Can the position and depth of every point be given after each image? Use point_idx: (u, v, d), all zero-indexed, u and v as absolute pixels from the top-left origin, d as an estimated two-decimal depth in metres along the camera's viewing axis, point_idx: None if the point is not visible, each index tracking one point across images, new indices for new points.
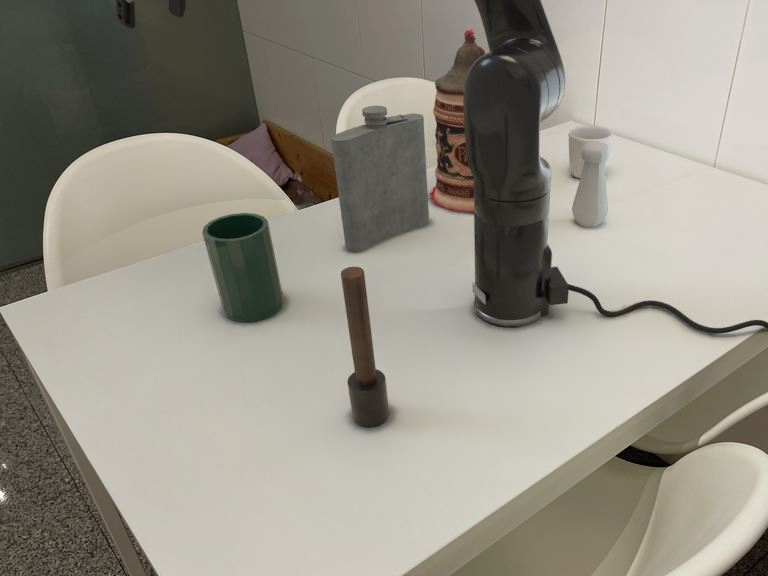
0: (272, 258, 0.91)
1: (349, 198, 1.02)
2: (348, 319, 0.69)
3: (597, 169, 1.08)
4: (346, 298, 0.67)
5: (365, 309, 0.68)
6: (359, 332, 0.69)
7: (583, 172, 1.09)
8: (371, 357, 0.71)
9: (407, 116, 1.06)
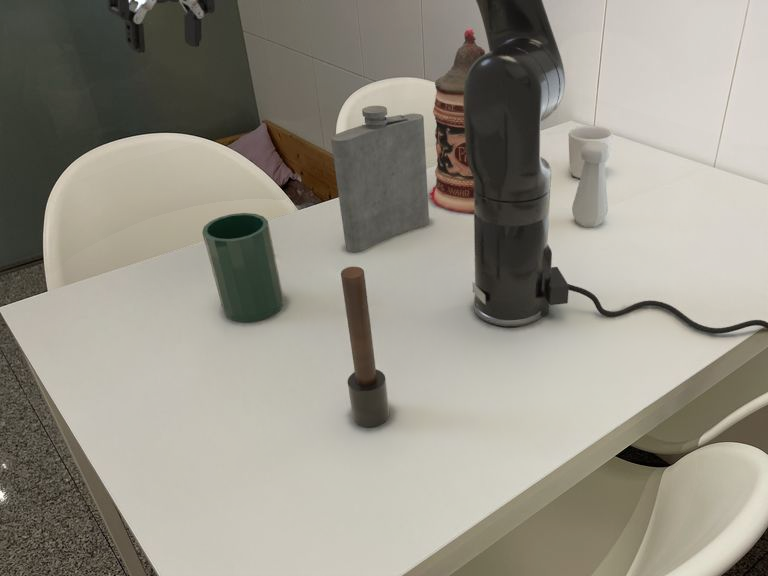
0: (272, 258, 0.91)
1: (349, 198, 1.02)
2: (348, 319, 0.69)
3: (597, 169, 1.08)
4: (346, 298, 0.67)
5: (365, 309, 0.68)
6: (359, 332, 0.69)
7: (583, 172, 1.09)
8: (371, 357, 0.71)
9: (407, 116, 1.06)
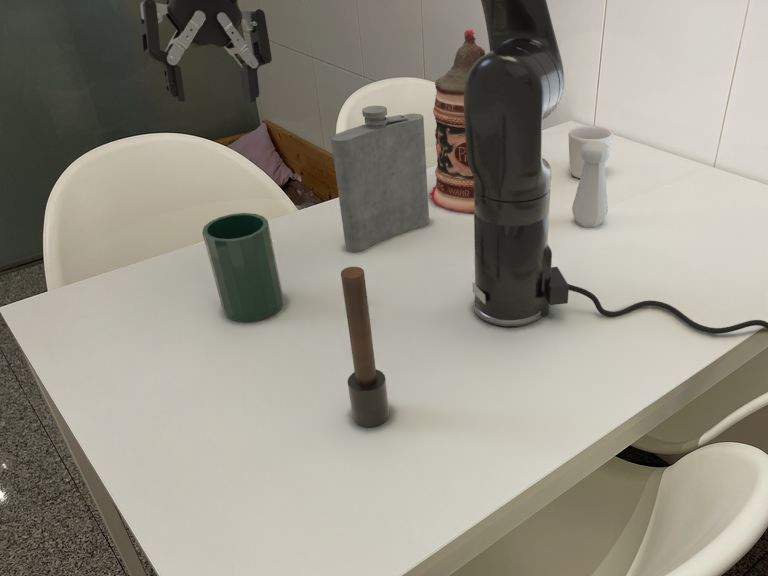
0: (272, 258, 0.91)
1: (349, 198, 1.02)
2: (348, 319, 0.69)
3: (597, 169, 1.08)
4: (346, 298, 0.67)
5: (365, 309, 0.68)
6: (359, 332, 0.69)
7: (583, 172, 1.09)
8: (371, 357, 0.71)
9: (407, 116, 1.06)
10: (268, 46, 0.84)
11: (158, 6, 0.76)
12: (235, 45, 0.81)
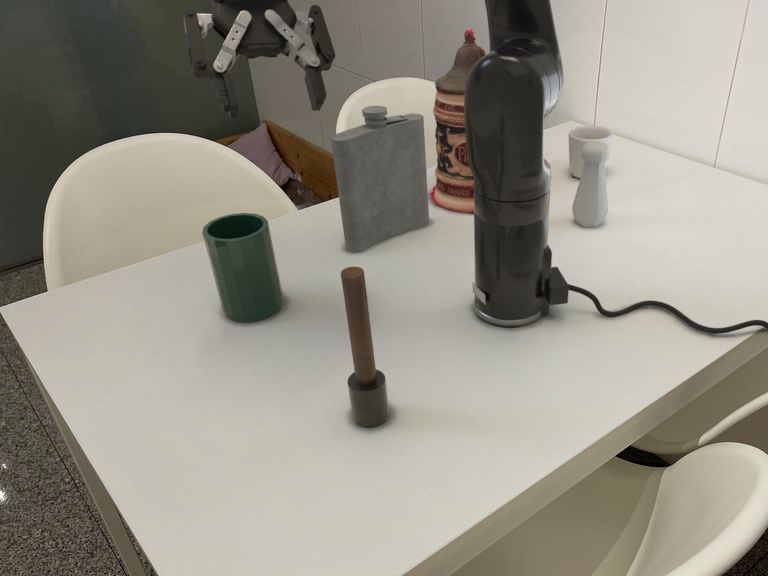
0: (272, 258, 0.91)
1: (349, 198, 1.02)
2: (348, 319, 0.69)
3: (597, 169, 1.08)
4: (346, 298, 0.67)
5: (365, 309, 0.68)
6: (359, 332, 0.69)
7: (583, 172, 1.09)
8: (371, 357, 0.71)
9: (407, 116, 1.06)
10: (329, 42, 0.73)
11: (201, 16, 0.69)
12: (290, 43, 0.71)
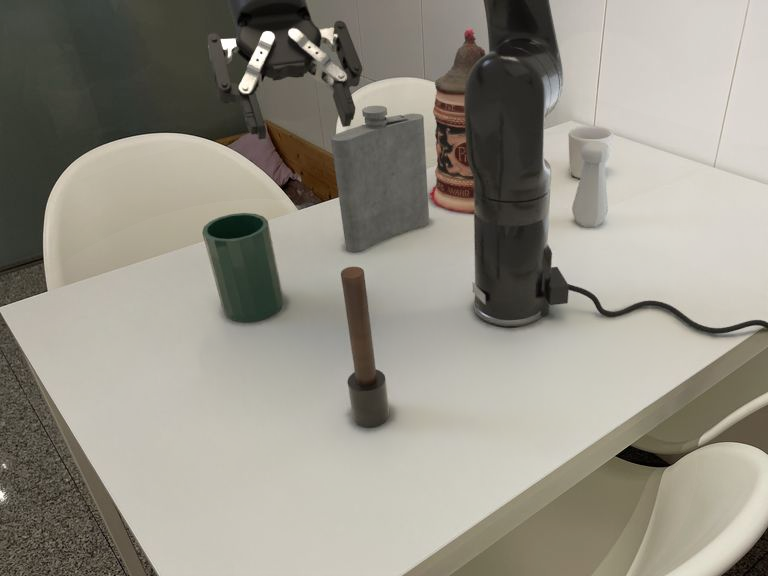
0: (272, 258, 0.91)
1: (349, 198, 1.02)
2: (348, 319, 0.69)
3: (597, 169, 1.08)
4: (346, 298, 0.67)
5: (365, 309, 0.68)
6: (359, 332, 0.69)
7: (583, 172, 1.09)
8: (371, 357, 0.71)
9: (407, 116, 1.06)
10: (356, 55, 0.71)
11: (225, 42, 0.68)
12: (315, 60, 0.69)
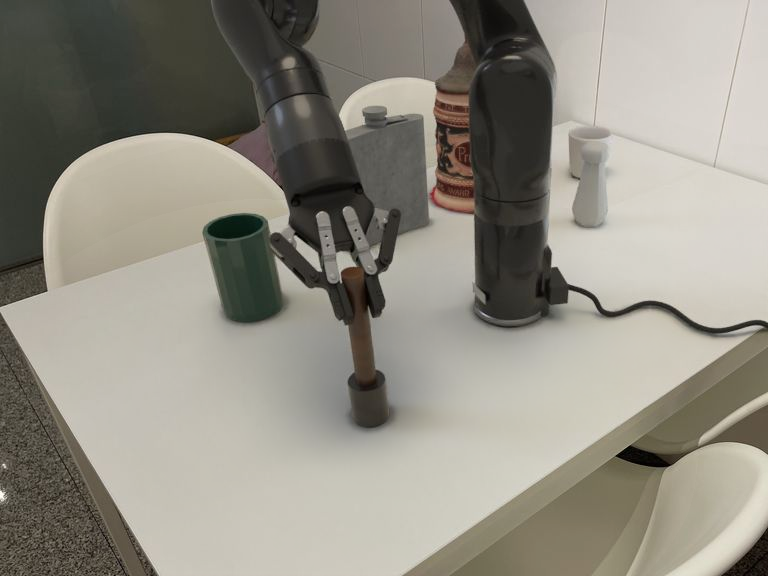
0: (272, 258, 0.91)
1: None
2: None
3: (597, 169, 1.08)
4: None
5: (365, 309, 0.68)
6: (359, 332, 0.69)
7: (583, 172, 1.09)
8: (371, 357, 0.71)
9: (407, 116, 1.06)
10: (393, 247, 0.68)
11: (283, 233, 0.66)
12: (354, 244, 0.67)
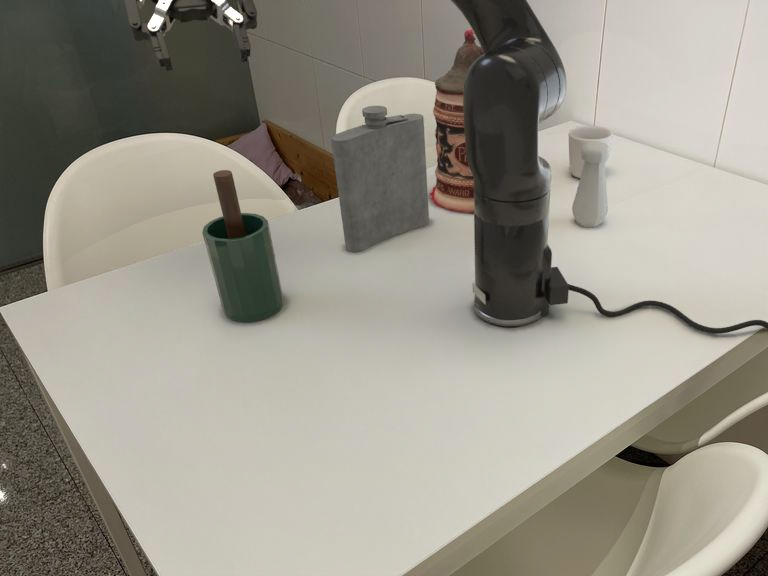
0: (272, 258, 0.91)
1: (349, 198, 1.02)
2: (222, 213, 0.87)
3: (597, 169, 1.08)
4: (219, 195, 0.85)
5: (235, 204, 0.86)
6: (232, 224, 0.87)
7: (583, 172, 1.09)
8: None
9: (407, 116, 1.06)
10: (251, 1, 0.83)
11: None
12: (215, 4, 0.81)
